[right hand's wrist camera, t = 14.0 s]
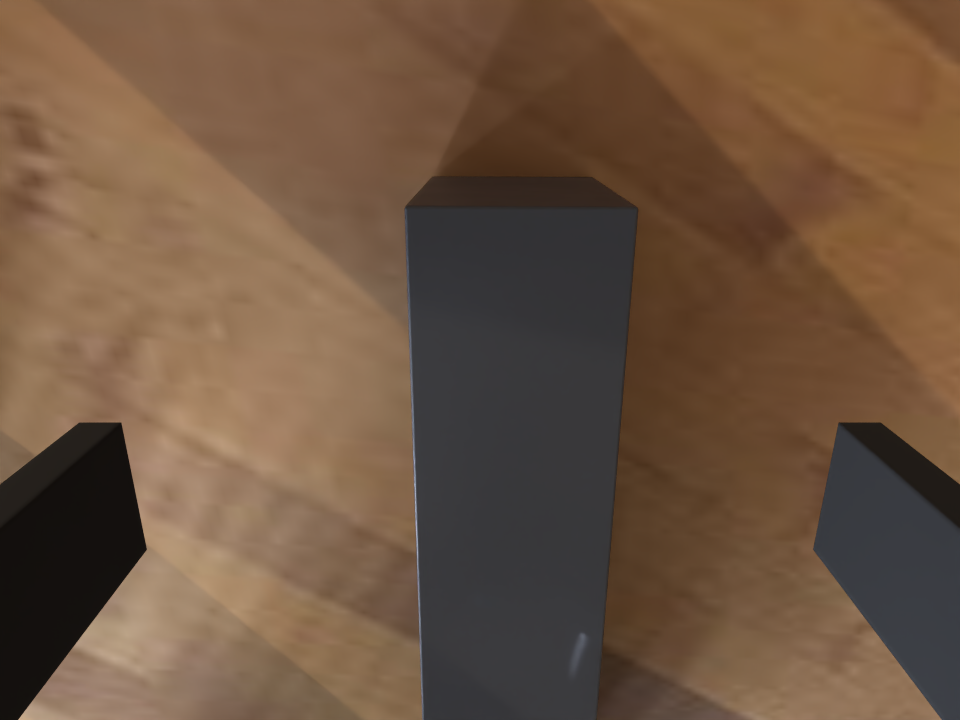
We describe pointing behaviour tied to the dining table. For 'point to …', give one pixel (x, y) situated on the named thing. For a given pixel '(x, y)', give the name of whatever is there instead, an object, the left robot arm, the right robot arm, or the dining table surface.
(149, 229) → the dining table surface
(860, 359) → the dining table surface
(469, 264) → the charcoal box
